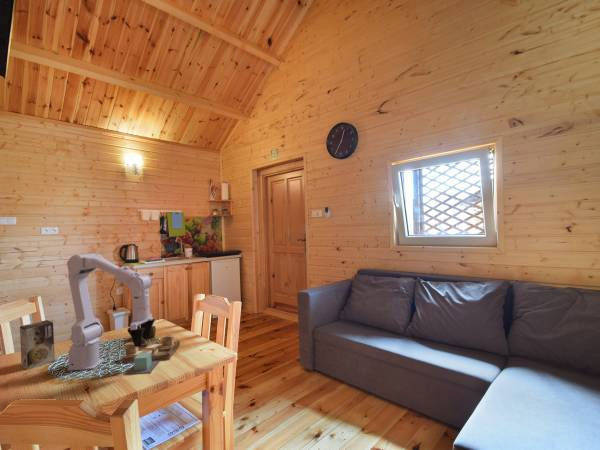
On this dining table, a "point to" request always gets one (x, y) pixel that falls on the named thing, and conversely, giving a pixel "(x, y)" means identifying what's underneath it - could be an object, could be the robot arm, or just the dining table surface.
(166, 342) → the strip
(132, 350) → the strip
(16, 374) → the dining table surface
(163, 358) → the lane board
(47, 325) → the coffee box
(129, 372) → the felt pad
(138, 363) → the cube
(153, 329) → the kendama
